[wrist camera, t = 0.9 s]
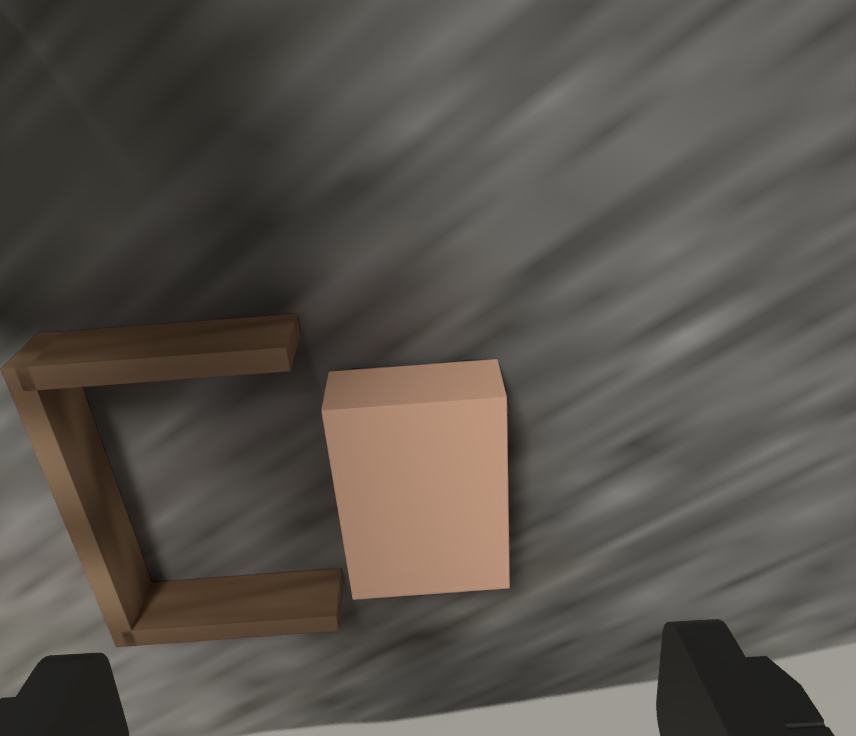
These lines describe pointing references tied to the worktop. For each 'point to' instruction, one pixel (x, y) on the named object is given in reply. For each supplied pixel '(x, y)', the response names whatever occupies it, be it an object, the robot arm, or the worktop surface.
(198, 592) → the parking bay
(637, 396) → the worktop surface
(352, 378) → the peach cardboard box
